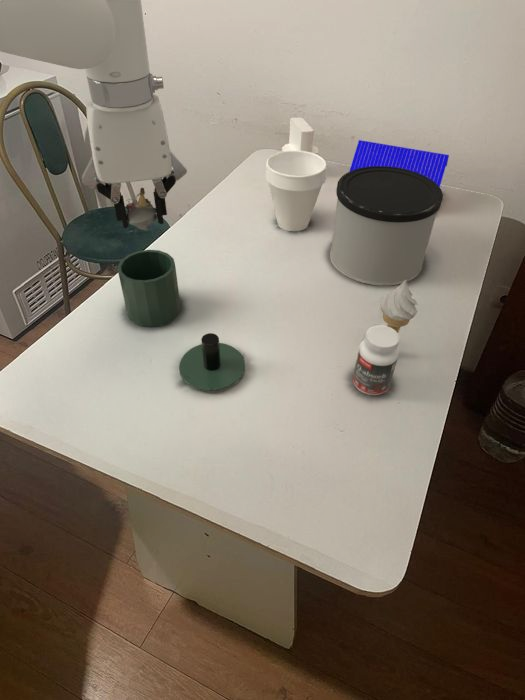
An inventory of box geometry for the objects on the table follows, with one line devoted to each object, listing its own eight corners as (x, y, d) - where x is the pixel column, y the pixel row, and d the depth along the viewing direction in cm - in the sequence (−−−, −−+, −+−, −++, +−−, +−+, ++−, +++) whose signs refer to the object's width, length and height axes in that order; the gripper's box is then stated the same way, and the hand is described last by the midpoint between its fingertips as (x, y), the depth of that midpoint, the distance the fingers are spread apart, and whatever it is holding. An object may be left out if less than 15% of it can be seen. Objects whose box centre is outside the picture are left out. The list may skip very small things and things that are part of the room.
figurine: (147, 236, 74) (141, 198, 70) (121, 230, 75) (113, 192, 71) (165, 219, 78) (160, 181, 74) (139, 213, 79) (133, 176, 75)
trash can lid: (185, 400, 76) (181, 369, 71) (175, 353, 83) (170, 322, 78) (252, 386, 78) (252, 356, 74) (236, 342, 85) (235, 311, 81)
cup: (276, 204, 118) (278, 146, 109) (327, 215, 115) (334, 155, 106) (256, 231, 110) (256, 170, 101) (311, 243, 107) (316, 181, 97)
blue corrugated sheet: (431, 216, 115) (445, 166, 107) (345, 199, 121) (352, 150, 112) (439, 192, 123) (452, 144, 115) (358, 177, 129) (365, 130, 120)
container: (321, 234, 109) (328, 166, 99) (407, 231, 111) (423, 163, 100) (338, 288, 96) (349, 216, 85) (436, 284, 97) (458, 212, 87)
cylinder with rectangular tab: (321, 178, 128) (326, 129, 120) (287, 182, 126) (289, 133, 118) (309, 163, 134) (313, 115, 126) (276, 167, 132) (278, 119, 124)
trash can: (130, 331, 87) (119, 286, 80) (125, 298, 93) (115, 254, 86) (184, 322, 89) (178, 277, 82) (176, 290, 95) (170, 246, 88)
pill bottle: (348, 390, 78) (357, 342, 71) (357, 365, 82) (366, 318, 75) (385, 401, 76) (398, 353, 69) (393, 375, 80) (406, 328, 73)
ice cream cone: (365, 361, 82) (382, 286, 72) (373, 339, 86) (390, 265, 76) (400, 371, 81) (422, 295, 70) (407, 348, 85) (428, 273, 74)
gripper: (184, 76, 68) (194, 203, 80) (50, 84, 64) (83, 216, 77) (194, 94, 63) (203, 227, 75) (48, 105, 59) (84, 242, 72)
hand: (142, 220), depth 76 cm, fingers closed on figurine, 4 cm apart
